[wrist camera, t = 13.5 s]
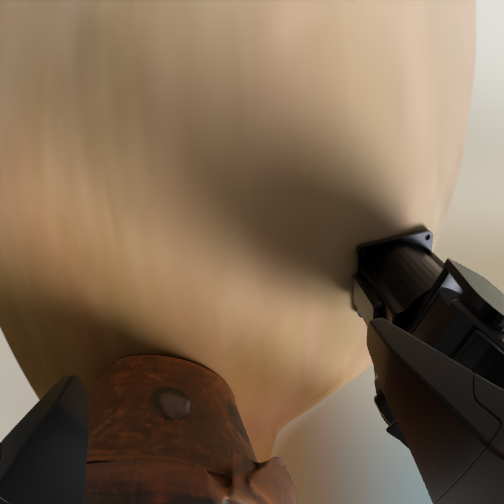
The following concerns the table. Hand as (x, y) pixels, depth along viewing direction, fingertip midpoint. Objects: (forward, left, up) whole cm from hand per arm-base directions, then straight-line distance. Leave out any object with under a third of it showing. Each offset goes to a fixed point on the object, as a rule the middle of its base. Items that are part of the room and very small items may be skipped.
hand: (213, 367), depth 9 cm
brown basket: (+9, +17, -13) cm, 23 cm away
